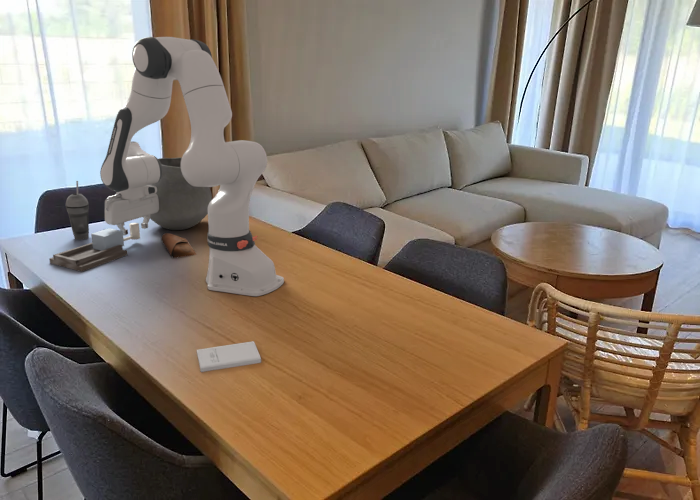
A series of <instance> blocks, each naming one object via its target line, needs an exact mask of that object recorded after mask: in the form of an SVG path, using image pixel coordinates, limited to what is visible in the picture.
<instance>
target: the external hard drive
mask: <svg viewBox="0 0 700 500" xmlns="http://www.w3.org/2000/svg"><path fill="white" fill-rule="evenodd" d="M196 356H197V360H198V365H199V366H198V367H199V371H200V372H201V373H204V372H211V371H216V370H222V369H223V370H224V369H230V368H235V367H242V366H248V365H255V364H261V363H262V358H261V355H260V353H259V350H258V347H257V345H256V343H255V341H253V340H252V341H246V342H239V343H233V344H226V345H219V346H213V347H208V348H207V347H206V348H199V349H196Z"/></svg>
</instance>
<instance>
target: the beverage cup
mask: <svg viewBox="0 0 700 500" xmlns="http://www.w3.org/2000/svg"><path fill="white" fill-rule="evenodd" d="M75 181H76V182H75V183H76V193H72V194H70V195H69V196H68V197H67V198H66V201H65V210H66V212H67V214H68V217H69V222H70V226H71V227H70V228H71V229H72V234H73V237H74V240H75V241H77V240H78V241H81V240H87V239H89V238H90V227H89V226H90V225H89V206H90V204H89V201H88V198H86V196H84V195H83V194H82V193H79V181H78V180H75Z"/></svg>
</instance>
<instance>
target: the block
mask: <svg viewBox="0 0 700 500" xmlns="http://www.w3.org/2000/svg"><path fill="white" fill-rule="evenodd" d="M140 232H141V231H140V223H139V222H131V223H129V236H127V237H124V235H123V231H120V229H115V228H110V227H108V228H105V229H103V230H99V231H95V232H92V233H91V234H90V235H91V243H92V244H93V249H96V250H100V251H102V250H105V249H108V248H111V247H114V246H117V245H122V247H125V242H126V241H129V240H140V239H141V233H140Z"/></svg>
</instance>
